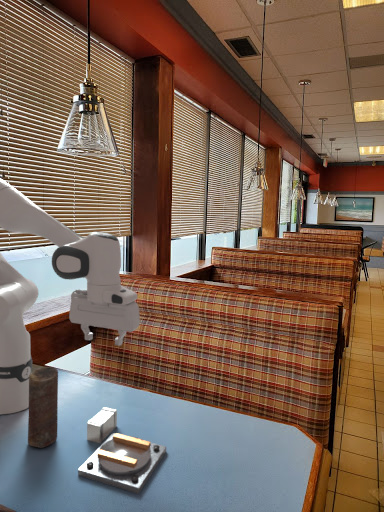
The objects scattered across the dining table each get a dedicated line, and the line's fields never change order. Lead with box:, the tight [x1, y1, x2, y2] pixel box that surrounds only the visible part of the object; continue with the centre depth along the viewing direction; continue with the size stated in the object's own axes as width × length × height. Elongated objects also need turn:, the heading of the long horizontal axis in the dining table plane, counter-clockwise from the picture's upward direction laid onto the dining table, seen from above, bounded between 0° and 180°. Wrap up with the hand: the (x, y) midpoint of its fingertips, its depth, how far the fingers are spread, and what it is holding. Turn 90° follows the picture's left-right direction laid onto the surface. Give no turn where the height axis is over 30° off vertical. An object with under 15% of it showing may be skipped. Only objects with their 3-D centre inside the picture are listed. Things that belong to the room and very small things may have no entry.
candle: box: [27, 366, 59, 449], centre depth 101 cm, size 8×7×20 cm
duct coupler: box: [86, 406, 118, 444], centre depth 108 cm, size 4×9×5 cm, turn 161°
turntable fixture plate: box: [77, 432, 167, 495], centre depth 95 cm, size 16×16×4 cm
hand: (103, 342), depth 104 cm, fingers open, 8 cm apart
